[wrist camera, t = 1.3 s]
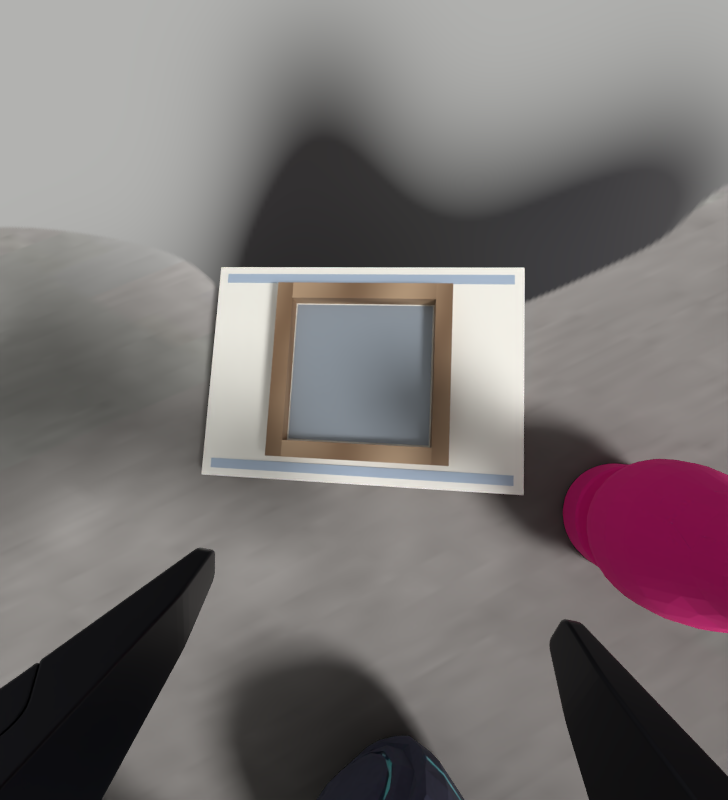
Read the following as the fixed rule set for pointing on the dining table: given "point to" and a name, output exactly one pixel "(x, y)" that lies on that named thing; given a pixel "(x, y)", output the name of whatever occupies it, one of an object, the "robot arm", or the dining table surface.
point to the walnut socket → (361, 294)
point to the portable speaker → (392, 774)
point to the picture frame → (371, 379)
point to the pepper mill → (657, 536)
